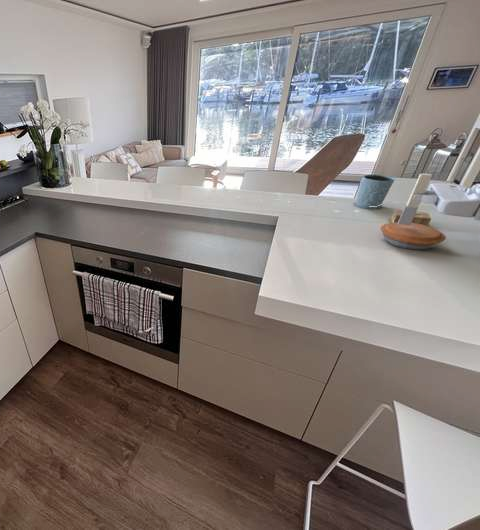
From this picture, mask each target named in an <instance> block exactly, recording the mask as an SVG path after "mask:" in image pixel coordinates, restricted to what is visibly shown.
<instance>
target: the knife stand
mask: <svg viewBox="0 0 480 530" xmlns="http://www.w3.org/2000/svg"><path fill="white" fill-rule="evenodd" d="M403 210H404V209H403ZM403 210H401V209H395V210H394V211H393V214H392V216H391V219H390V221H391V223H394V222H398V221H399V219H400V217H401V215H402V212H403ZM431 220H432V217H431V215H430V213H429V212H424V211H423V212H422V211H417V212H416V214H415V216H414V218H413V220H412V222H411V223H416V224H422V225H425V226H429V225H430V222H431Z"/></svg>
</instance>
